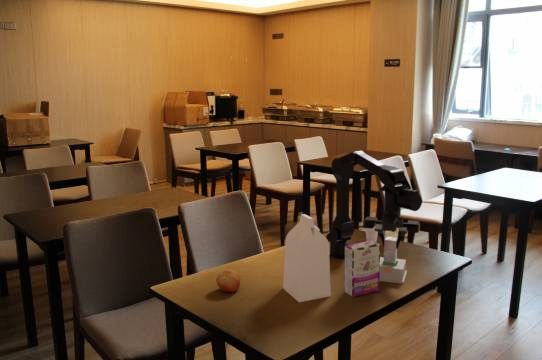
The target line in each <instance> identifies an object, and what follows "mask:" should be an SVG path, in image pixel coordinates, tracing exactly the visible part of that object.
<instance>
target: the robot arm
mask: <svg viewBox="0 0 542 360" xmlns="http://www.w3.org/2000/svg"><path fill="white" fill-rule="evenodd" d="M356 166H359V167H362V168H363V169H365V170H366V171H368V172H371V173H372V174H373V175H375V176H376V177H377V178H378V181H379V182H380V183H381V184H382V187H380V188H379V191H381V192H384V197H383V198H384V200H383V214H382V218H381V220H378V217H377V216H374V217H373V216H367V217H366V218H364V220H363V228H364V229H365V228H370V229H372V228H374V227H375V229H374V230H375V231H377V232H378V234H379V238H380V240H381V243H382V246H383V248H384V240H385V238H386V232H392V233H393V232H394V233H395V232H397V229H399V231H398V233H397V244H396V249H397V250H398V248H399V245H400V242H401V241H402V238H403V237H404V235H408V233H412V234H419V232H420V229H421V223H420V221H419V220H409V219H408V221H407V222H404V219H403V217H401V215H402V214H401V210H402V209H405V210H408V211H413V212H417V211H419V210H420V208H421V207H422V204H423V200H422V196H421V195H420V194H419V190H417V189H412V187H411V184H410V182H409V181H408V179H407V176H406V174H405V171H404V170H403V169H401V168H400V167H396V166H391V165H387V164H384V163H383V162H380V161H379V160H378V159H376V158H373V156H370V155H368V154H367V153H366V152H365V151H363V150H353V151H351V152H349V153H347V154H345V155H342V156H340V157H335V158H334V159H332V160H331V171H332V172H331V173H332V175H333V177H334V178H335V180H336V181H335V183H336V185H335V186H336V187H335V191H336V193H335V194H336V195H335V196H336V198H335V203H336V204H335V207H336V209H335V211H336V212H335V217H334V220H332V224H331V230H330V231H329V232H328V233H327V235H325V237H326V238H327V240H328V242H329V258H335V259H342V260H343V259H344V260H345V246H347V245H349V243H348V241H351V239H352V236H353V235H354V232H356V230H355V221H354V220H352V219H351V217H350V179H351V178H352V177H353V176H352V175H353V174H354V170H355V167H356ZM401 208H402V209H401Z"/></svg>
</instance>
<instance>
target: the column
mask: <svg viewBox="0 0 542 360" xmlns="http://www.w3.org/2000/svg"><path fill="white" fill-rule="evenodd" d="M397 238H398V236H397V237H394V236H386V235H385V240H384V247H383V257H384V261H383V264H384V265H391V266H396V263H397V259H398V249H396V244H397Z"/></svg>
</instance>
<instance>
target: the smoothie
mask: <svg viewBox="0 0 542 360" xmlns="http://www.w3.org/2000/svg"><path fill="white" fill-rule="evenodd" d="M372 213H373V214H372V217H375V214H376V213H375V212H372ZM364 229H365V238H366V241H374V242H376V243H377V241H378V234H379V233H378V232H377V231H375V230H374V229H375V227H374V228H372V229H370V228H364Z"/></svg>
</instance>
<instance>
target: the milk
mask: <svg viewBox="0 0 542 360" xmlns="http://www.w3.org/2000/svg"><path fill="white" fill-rule="evenodd" d="M284 246H285V247H284V263H283V264H284V266H283V282H282V283H283V286H282V289H283V290H284V291H286V292H287V293H288V294H289V295H290V296H291V297H292V298H293V299H295V300H296V301H297V302H298V303H303V302H306V301H307V302H308V301H311V300H312V301H313V300H317V299H322V298H328V297H331V296H332V293H331V269H330V265H331V264H330V257H329V255H330V242H328V240H327V238H326V235H325V236H324V235H323V234H322V232H321V229H320V228H319V227H318V226H317V225H315V221H314V218H313V217H311V216H309V215H307V214H305V213H303V214H302V213H301V214H300V217H299V222H297V224H295V225H294V226H293V227H292V228H291V229H290V231H289V232H288V233H287V234H286V236H285V245H284Z"/></svg>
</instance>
